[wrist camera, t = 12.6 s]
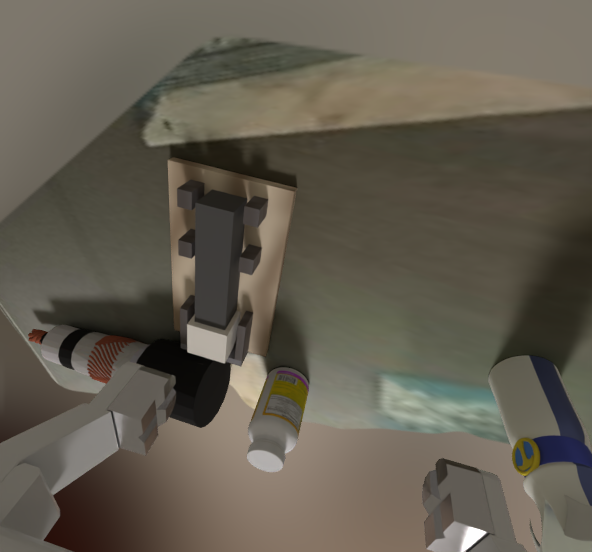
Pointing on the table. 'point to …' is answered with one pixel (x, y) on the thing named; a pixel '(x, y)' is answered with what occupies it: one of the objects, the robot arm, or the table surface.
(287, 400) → the supplement bottle
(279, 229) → the clip board
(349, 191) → the table surface
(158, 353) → the cable
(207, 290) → the bar
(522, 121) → the table surface
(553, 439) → the water bottle
